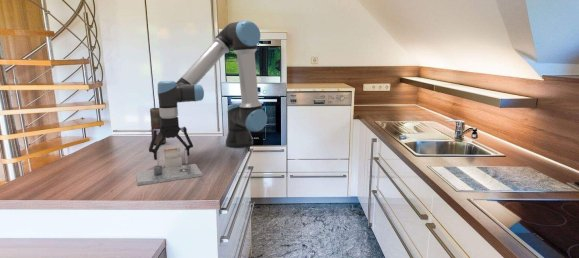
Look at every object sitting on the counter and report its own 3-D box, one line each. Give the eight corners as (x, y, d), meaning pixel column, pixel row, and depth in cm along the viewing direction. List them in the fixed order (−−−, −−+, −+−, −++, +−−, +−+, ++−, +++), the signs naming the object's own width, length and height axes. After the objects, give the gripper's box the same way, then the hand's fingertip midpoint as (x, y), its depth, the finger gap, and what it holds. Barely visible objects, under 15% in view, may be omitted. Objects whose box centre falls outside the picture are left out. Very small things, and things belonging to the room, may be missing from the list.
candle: (161, 141, 190) (158, 107, 186) (169, 143, 186) (166, 108, 182) (149, 143, 184) (146, 108, 180) (157, 145, 180) (154, 109, 176)
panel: (195, 166, 147) (195, 157, 146) (201, 176, 134) (201, 166, 133) (136, 174, 136) (135, 164, 135) (137, 185, 124) (136, 175, 123)
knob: (179, 161, 153) (178, 146, 151) (182, 166, 146) (180, 149, 145) (163, 163, 150) (162, 147, 148) (165, 168, 143) (164, 151, 142)
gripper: (195, 113, 152) (197, 158, 156) (139, 117, 142) (143, 165, 146) (198, 116, 145) (200, 163, 150) (139, 120, 135) (144, 170, 140)
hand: (172, 164), depth 148 cm, fingers open, 11 cm apart
